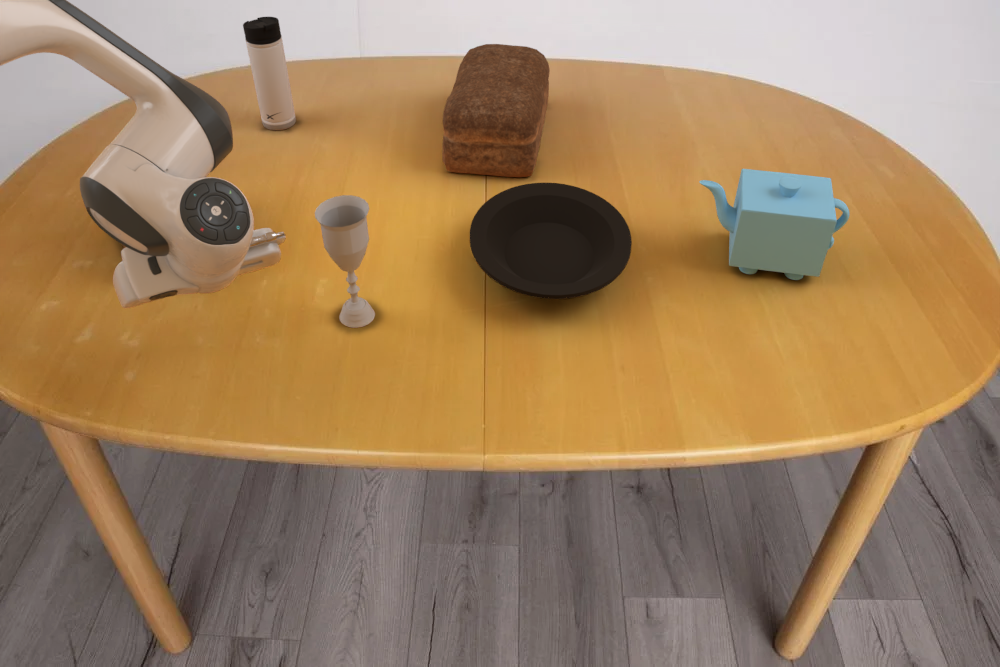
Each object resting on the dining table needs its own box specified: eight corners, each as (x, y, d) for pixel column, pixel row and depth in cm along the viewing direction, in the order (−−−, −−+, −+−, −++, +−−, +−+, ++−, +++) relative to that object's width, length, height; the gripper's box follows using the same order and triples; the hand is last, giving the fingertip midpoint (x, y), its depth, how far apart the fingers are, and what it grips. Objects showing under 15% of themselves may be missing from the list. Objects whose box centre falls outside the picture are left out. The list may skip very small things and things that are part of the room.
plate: (642, 322, 124) (646, 292, 120) (473, 328, 123) (472, 297, 119) (612, 209, 144) (615, 180, 140) (467, 213, 143) (467, 184, 139)
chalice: (361, 338, 121) (346, 233, 109) (322, 322, 123) (303, 217, 111) (391, 308, 126) (380, 204, 113) (352, 293, 128) (337, 189, 116)
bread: (551, 99, 172) (554, 35, 163) (535, 184, 150) (537, 114, 141) (465, 93, 174) (464, 29, 165) (437, 176, 151) (433, 107, 142)
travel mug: (275, 135, 162) (254, 30, 148) (256, 122, 165) (234, 18, 152) (303, 123, 165) (286, 20, 151) (284, 111, 168) (266, 8, 155)
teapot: (830, 244, 137) (854, 168, 128) (835, 288, 129) (861, 211, 120) (688, 227, 141) (702, 152, 131) (685, 269, 132) (699, 192, 123)
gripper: (279, 206, 108) (263, 239, 120) (106, 252, 99) (109, 283, 111) (297, 254, 107) (280, 282, 120) (125, 304, 99) (126, 329, 111)
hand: (196, 283), depth 116 cm, fingers closed
